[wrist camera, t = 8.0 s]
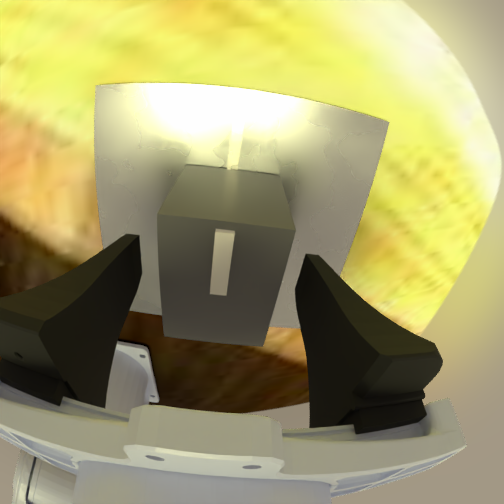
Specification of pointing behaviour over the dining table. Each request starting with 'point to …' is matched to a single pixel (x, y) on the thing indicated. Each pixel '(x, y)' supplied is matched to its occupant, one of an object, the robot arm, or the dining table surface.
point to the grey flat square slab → (232, 166)
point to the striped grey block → (222, 254)
